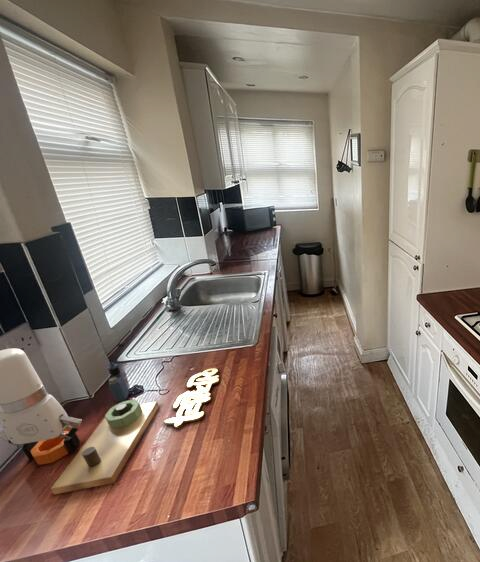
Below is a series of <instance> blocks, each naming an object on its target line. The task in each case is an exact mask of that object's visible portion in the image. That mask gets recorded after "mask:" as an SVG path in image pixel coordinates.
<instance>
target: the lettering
mask: <svg viewBox="0 0 480 562" xmlns="http://www.w3.org/2000/svg"><path fill="white" fill-rule="evenodd" d="M218 374H219V370H218V368H216V367H209V368H206V369H205V370H203V372H198V373H196V374H194V375H192V376H191V377H190V378H189V380H188V382H187V383H186V387H187V389H193V388H194V387H195V388H196V390H192V391H190V390H187V391H186V392H184V393H182V394H180V395H179V396H178V397H177V398H176V400H175V402H174V404H173V408H174V410H177V412H176V417H171V418H168V419H165V420H164V423H165V425H168V426H174V428H175V429H179V428H181V427H182V426H183V425H184V424H186V423H192V422H197V421H200V420H202V419H203V418H204V417H205V416H204V415H205V413H204V411H201V408H202V407H203V405H205V404H208V403H210V402H211V401H212V399H211V397H212V395H211V393H210V392H211V390H212V387H213V386H215V385H217V384H218V383H220V377H219V375H218Z"/></svg>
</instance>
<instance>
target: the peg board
mask: <svg viewBox="0 0 480 562" xmlns="http://www.w3.org/2000/svg"><path fill="white" fill-rule="evenodd" d="M139 404H140V407H141V409H142V413H141V415H140V416H139V418H138V419H137V420H136V421H134V422H132V423H131V424H129V425H127V426H126V427H121V428H115V429H112V428H111V427H110V426H109V424H108V422H107V420H106V418H105V417H103V419H102V421H101V422H100V423H99V424H98V426H97V427H96V428H95V430H94V431H93V433H92V434H91V435H90V437H89V438H88V439H87V440H86V442H85V443H84V444H83V446H81V448H80V449H79V451H78V452H77V453H76V455H75V456H74V457H73V459H71V461H70V463H69V464H68V465H67V466H66V467H65V469H64V470H63V471H62V473H61V474H60V475H59V477H58V478H57V480H56V481H55V482H54V484H53V485H52V486H51V487H50V491H51V492H52V494H53V495H54V496H55V495H59V494H65V493H69V492H74V491H80V490H84V489H89V488H94V487H99V486H100V487H101V486H104V485H105V486H106V485H111V484H114V483H115V482H116V481H117V480H118V478H119V476H120V474H121V472H122V471H123V469H124V467H125V465H126V463H127V462H128V460H129V459H130V457H131V455H132V453H133V452H134V451H135V448H136V447H137V445H138V444H139V442H140V440H141V438H142V436H143V435H144V433H145V431H146V430H147V428H148V426H149V425H150V422H151V421H152V420H153V417H154V416H155V414H156V413H157V411H158V409H159V407H160V405H159V402H158V401H150V402H145V403H144V402H143V403H139ZM116 411H117V413H118V416H121V415H123V414H125V413H127V412H129V409H128V407H127V405H126V404H121V405H119V406H117V407H116Z"/></svg>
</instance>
